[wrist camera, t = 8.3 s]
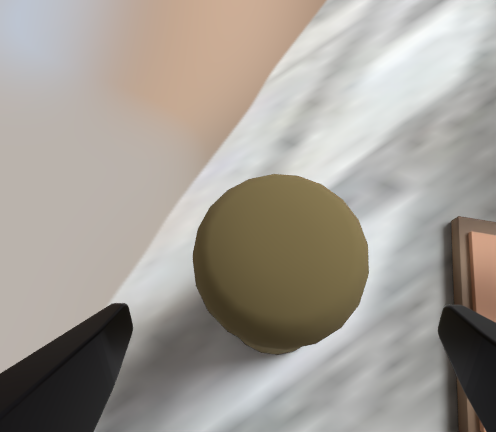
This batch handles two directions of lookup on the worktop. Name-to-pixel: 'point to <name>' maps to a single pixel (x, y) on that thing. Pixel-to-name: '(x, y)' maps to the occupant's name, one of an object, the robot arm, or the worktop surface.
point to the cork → (280, 262)
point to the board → (473, 288)
